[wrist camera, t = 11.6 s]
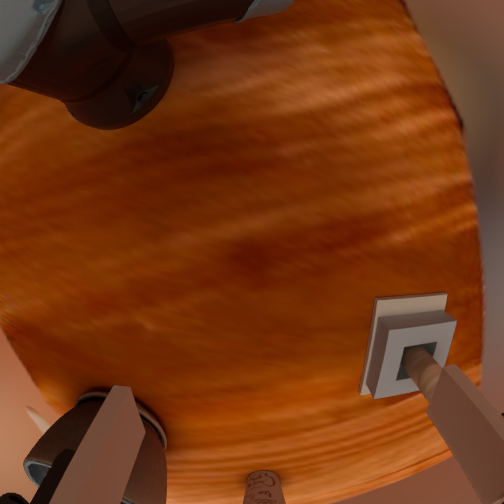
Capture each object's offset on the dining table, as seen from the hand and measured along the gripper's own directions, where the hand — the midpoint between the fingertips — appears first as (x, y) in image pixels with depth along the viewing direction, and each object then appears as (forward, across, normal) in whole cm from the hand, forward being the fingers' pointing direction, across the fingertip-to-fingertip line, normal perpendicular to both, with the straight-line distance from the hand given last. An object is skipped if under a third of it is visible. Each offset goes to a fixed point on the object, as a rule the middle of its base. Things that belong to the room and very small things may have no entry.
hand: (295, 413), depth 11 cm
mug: (+26, -1, -47) cm, 54 cm away
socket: (+26, +20, -15) cm, 36 cm away
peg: (+25, +20, -15) cm, 36 cm away
